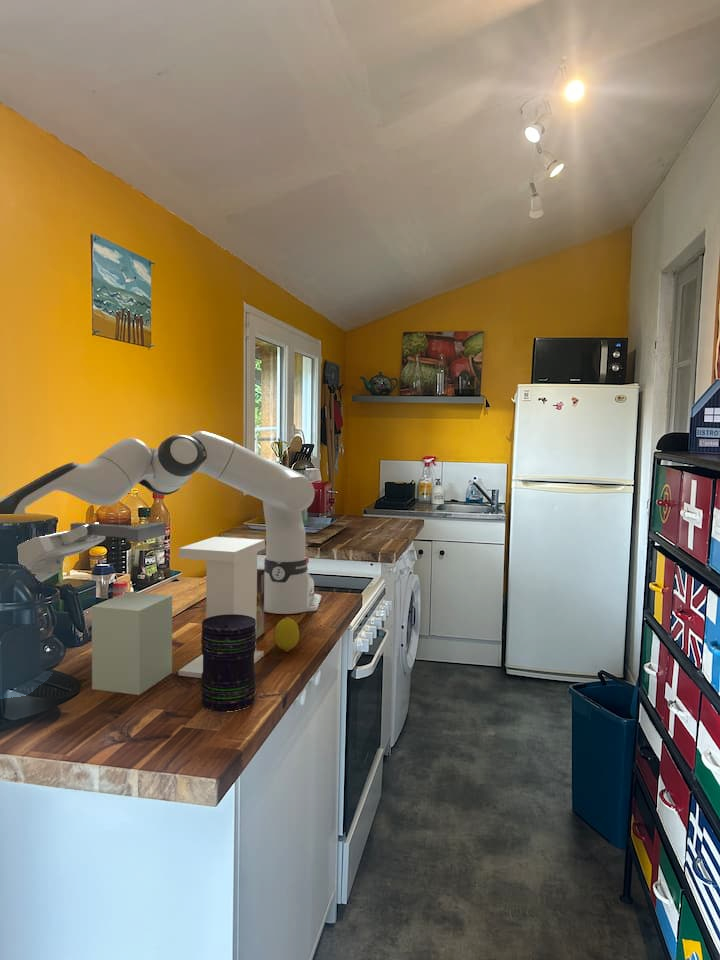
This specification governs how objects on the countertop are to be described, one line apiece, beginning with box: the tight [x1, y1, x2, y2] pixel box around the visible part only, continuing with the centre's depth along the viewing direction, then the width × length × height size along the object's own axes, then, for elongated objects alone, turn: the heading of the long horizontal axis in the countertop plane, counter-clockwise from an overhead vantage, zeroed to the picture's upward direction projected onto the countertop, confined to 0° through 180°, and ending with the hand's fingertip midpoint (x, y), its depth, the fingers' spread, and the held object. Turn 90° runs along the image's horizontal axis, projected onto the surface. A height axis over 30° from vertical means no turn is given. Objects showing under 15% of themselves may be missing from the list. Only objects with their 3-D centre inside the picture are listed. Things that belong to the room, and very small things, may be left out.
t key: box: [69, 522, 167, 543], centre depth 127 cm, size 10×17×2 cm, turn 78°
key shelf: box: [177, 536, 266, 679], centre depth 137 cm, size 16×12×26 cm
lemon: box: [274, 616, 300, 653], centre depth 147 cm, size 6×6×8 cm
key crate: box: [91, 591, 173, 696], centre depth 127 cm, size 12×10×16 cm
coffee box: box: [256, 568, 265, 640], centre depth 156 cm, size 9×6×16 cm
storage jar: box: [200, 614, 257, 713], centre depth 118 cm, size 10×10×15 cm
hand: (92, 527), depth 127 cm, fingers closed on t key, 2 cm apart
